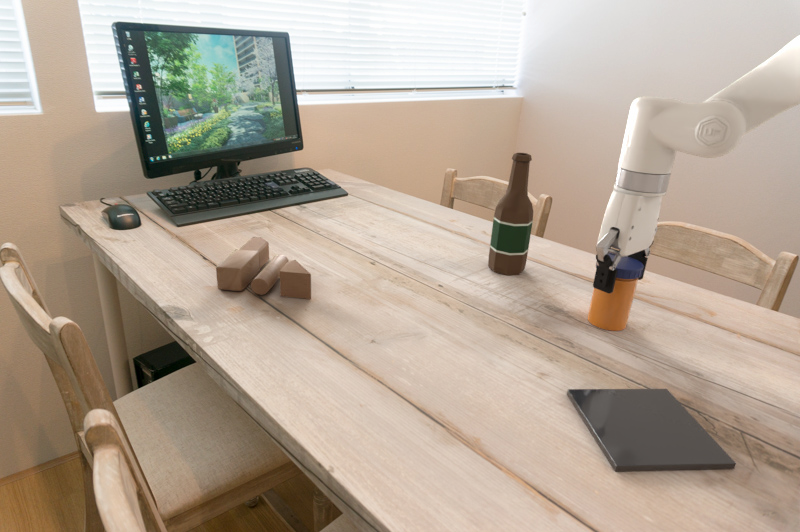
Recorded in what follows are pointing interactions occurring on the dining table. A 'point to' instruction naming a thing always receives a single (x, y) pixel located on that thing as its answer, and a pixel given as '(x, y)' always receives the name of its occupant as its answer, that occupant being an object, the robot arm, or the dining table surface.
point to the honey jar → (612, 305)
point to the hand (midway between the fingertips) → (618, 283)
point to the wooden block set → (247, 265)
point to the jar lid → (628, 268)
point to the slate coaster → (647, 430)
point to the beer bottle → (512, 222)
